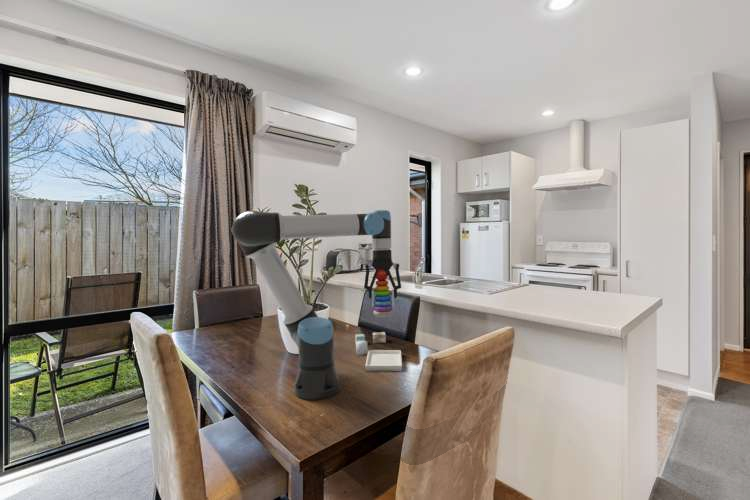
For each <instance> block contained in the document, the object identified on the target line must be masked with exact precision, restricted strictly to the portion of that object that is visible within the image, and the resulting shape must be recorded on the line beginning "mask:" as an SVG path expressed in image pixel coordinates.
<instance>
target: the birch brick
mask: <svg viewBox="0 0 750 500" xmlns="http://www.w3.org/2000/svg"><path fill="white" fill-rule="evenodd" d="M386 336H387V335H386V332H385V331H379V332H376V331H375V332H372V343H373V344H377V343H378V344H382V343H384V344H385V343H387V340H386V339H387V338H386Z"/></svg>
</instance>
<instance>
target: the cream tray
mask: <svg viewBox="0 0 750 500" xmlns="http://www.w3.org/2000/svg"><path fill="white" fill-rule="evenodd" d="M367 350H368V354H366V361H365V369H364V371H365V372H402V371H403V362H402V361H403V359H402V350H401V349H393V350H391V349H387V350H386V349H372V350H371V349H367Z"/></svg>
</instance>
